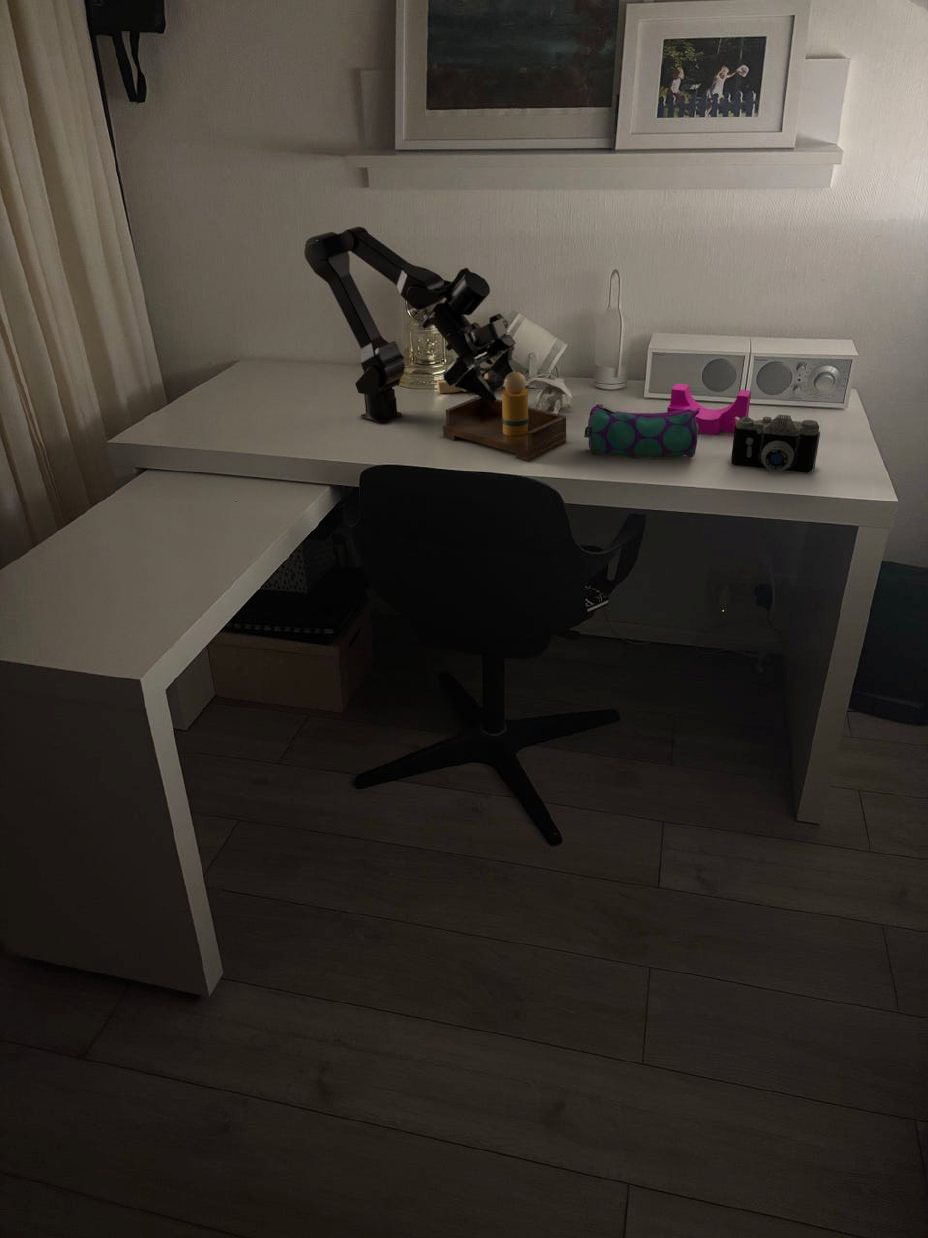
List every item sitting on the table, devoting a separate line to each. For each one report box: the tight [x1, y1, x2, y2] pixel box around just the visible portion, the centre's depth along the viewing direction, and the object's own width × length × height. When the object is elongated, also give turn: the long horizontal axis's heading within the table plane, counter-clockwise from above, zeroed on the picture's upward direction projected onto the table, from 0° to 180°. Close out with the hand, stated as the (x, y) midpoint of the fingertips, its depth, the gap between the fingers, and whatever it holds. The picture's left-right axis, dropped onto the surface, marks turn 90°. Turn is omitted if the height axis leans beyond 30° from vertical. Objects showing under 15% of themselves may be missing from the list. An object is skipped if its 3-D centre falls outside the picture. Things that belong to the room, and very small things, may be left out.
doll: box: [501, 371, 529, 436], centre depth 189 cm, size 5×5×12 cm
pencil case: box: [583, 403, 700, 459], centre depth 183 cm, size 21×9×10 cm, turn 78°
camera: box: [730, 414, 821, 474], centre depth 175 cm, size 15×7×10 cm, turn 69°
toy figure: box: [436, 366, 504, 394], centre depth 220 cm, size 7×6×15 cm
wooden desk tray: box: [442, 395, 568, 463], centre depth 193 cm, size 22×12×6 cm, turn 48°
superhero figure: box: [526, 377, 573, 414], centre depth 206 cm, size 10×9×20 cm
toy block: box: [666, 383, 752, 436], centre depth 194 cm, size 15×6×8 cm, turn 66°
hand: (507, 393), depth 189 cm, fingers open, 9 cm apart
